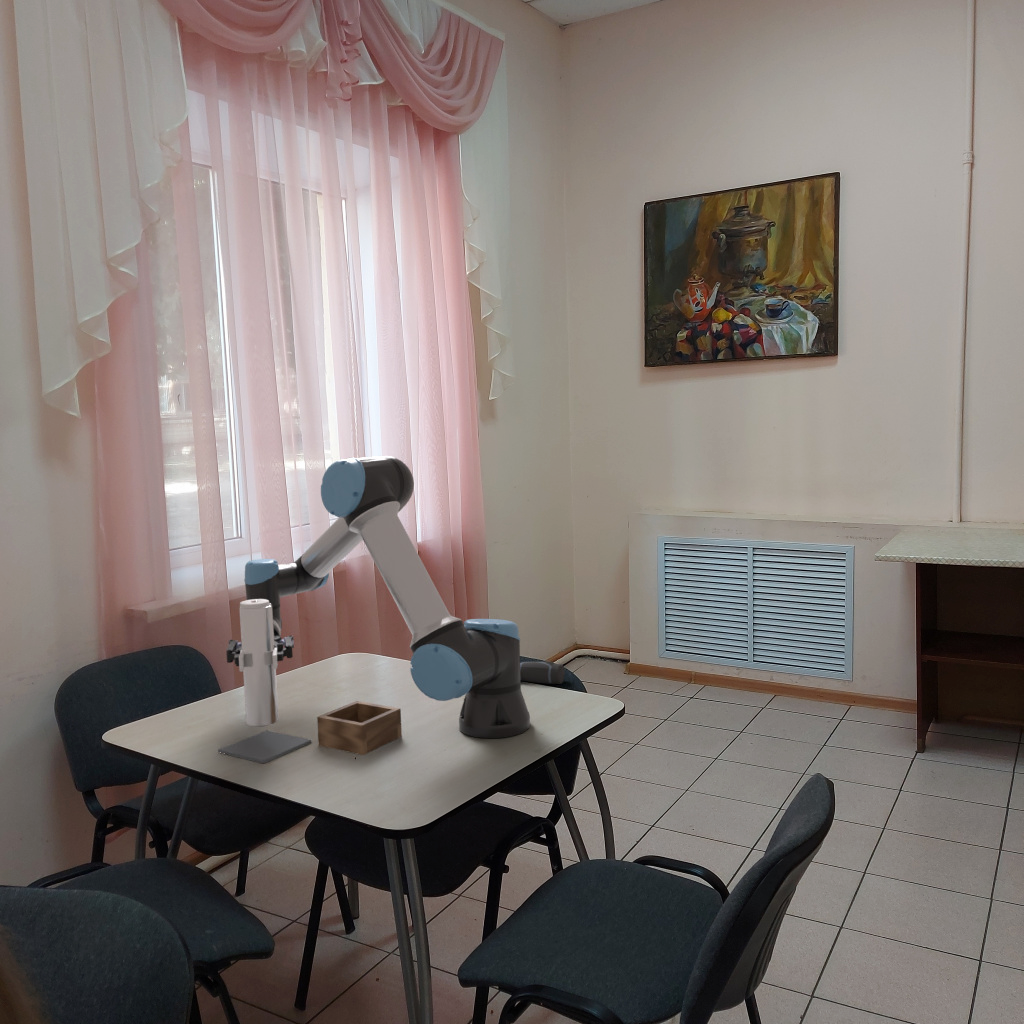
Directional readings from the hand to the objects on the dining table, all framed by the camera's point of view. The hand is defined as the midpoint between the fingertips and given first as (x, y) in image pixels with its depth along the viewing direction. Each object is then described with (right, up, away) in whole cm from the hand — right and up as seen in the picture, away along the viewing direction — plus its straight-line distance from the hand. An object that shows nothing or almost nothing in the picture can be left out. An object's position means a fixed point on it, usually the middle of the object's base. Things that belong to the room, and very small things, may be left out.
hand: (258, 663), depth 180 cm
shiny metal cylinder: (-1, -13, +6) cm, 15 cm away
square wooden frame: (+19, -17, +9) cm, 27 cm away
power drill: (+52, -13, +47) cm, 71 cm away
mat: (0, -18, +7) cm, 19 cm away
